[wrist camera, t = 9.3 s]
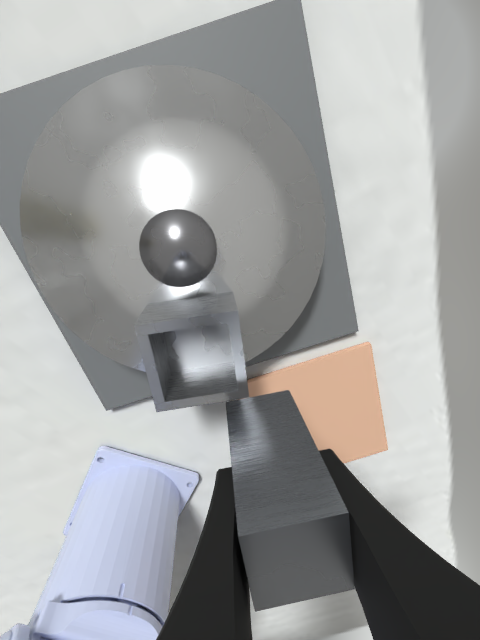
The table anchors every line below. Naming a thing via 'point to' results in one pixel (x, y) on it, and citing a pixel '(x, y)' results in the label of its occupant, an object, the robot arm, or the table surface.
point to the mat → (334, 400)
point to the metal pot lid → (173, 227)
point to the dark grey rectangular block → (285, 505)
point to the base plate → (254, 75)
